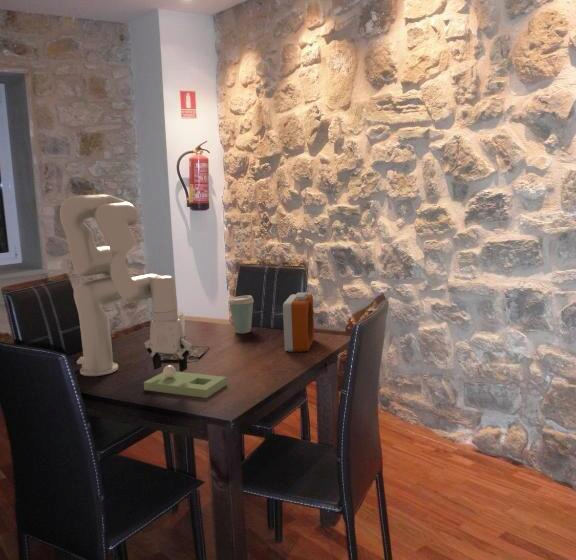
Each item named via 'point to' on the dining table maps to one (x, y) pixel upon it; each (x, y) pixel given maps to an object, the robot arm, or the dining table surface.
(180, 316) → the white cup
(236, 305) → the disposable coffee cup
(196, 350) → the terrain model
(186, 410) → the dining table surface
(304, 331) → the orange and grey box
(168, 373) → the ball
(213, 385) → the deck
